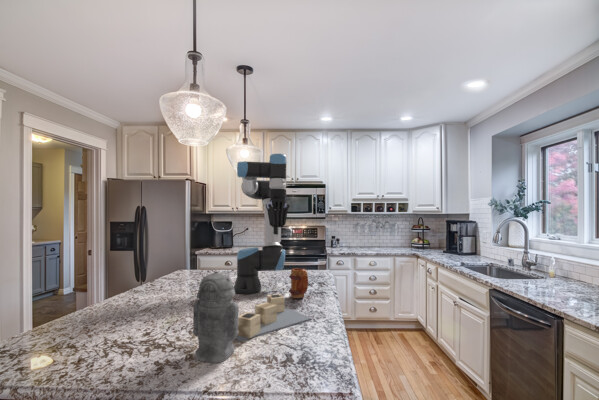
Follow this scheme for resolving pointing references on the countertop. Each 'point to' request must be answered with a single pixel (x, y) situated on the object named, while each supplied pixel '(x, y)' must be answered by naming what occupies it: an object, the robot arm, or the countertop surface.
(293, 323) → the mat
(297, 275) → the mug
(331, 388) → the countertop surface
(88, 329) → the countertop surface
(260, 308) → the plain block
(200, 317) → the figurine
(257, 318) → the labelled block
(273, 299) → the labelled block
